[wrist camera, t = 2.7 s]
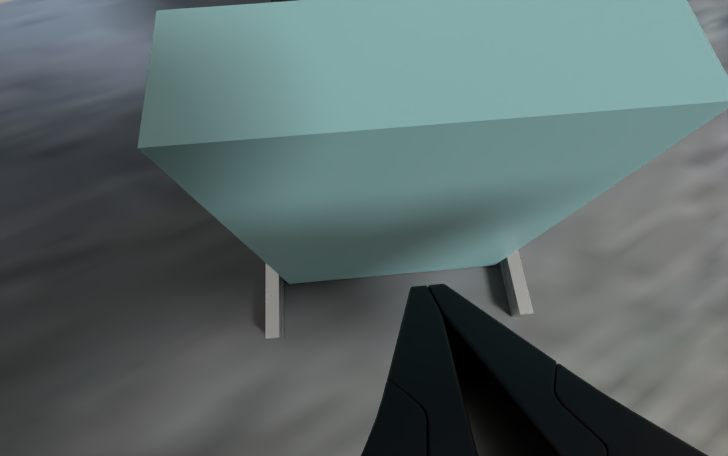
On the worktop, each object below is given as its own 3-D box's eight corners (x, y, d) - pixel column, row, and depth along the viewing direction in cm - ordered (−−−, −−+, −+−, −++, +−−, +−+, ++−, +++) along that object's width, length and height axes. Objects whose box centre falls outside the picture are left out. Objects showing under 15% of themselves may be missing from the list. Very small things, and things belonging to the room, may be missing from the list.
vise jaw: (494, 265, 17) (740, 100, 6) (289, 284, 17) (137, 148, 6) (482, 208, 18) (673, -26, 7) (288, 225, 18) (156, 10, 7)
